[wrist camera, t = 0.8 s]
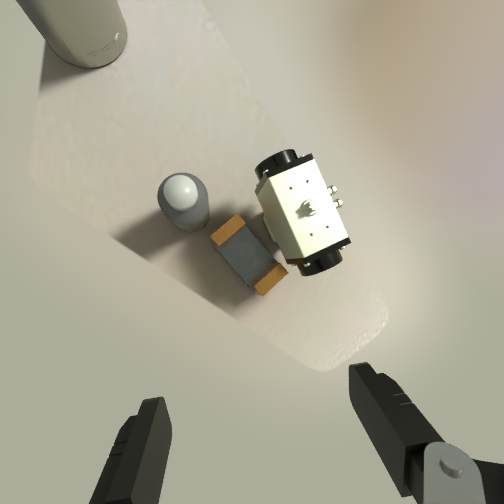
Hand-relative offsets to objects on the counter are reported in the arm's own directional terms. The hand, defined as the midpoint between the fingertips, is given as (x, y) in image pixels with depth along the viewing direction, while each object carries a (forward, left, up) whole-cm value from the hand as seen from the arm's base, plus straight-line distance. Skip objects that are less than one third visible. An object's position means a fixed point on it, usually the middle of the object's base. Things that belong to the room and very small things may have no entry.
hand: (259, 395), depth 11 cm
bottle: (-12, +4, -22) cm, 25 cm away
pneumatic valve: (-4, +12, -22) cm, 25 cm away
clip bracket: (-4, +6, -22) cm, 23 cm away
